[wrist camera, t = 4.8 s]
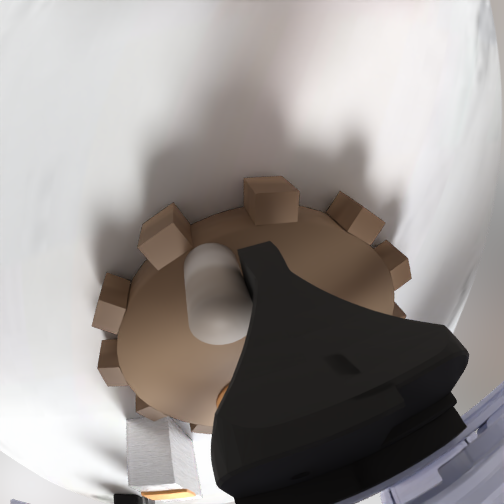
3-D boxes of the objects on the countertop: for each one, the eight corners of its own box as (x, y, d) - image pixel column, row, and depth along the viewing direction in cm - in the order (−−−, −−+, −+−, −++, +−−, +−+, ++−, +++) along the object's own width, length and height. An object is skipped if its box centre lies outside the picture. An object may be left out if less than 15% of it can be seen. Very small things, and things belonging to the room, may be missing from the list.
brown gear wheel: (421, 295, 19) (463, 340, 14) (255, 426, 22) (270, 475, 18) (264, 92, 10) (323, 92, 6) (55, 351, 14) (38, 423, 10)
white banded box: (192, 440, 23) (203, 500, 17) (156, 446, 22) (163, 504, 17) (167, 413, 19) (176, 486, 14) (125, 419, 19) (128, 489, 14)
